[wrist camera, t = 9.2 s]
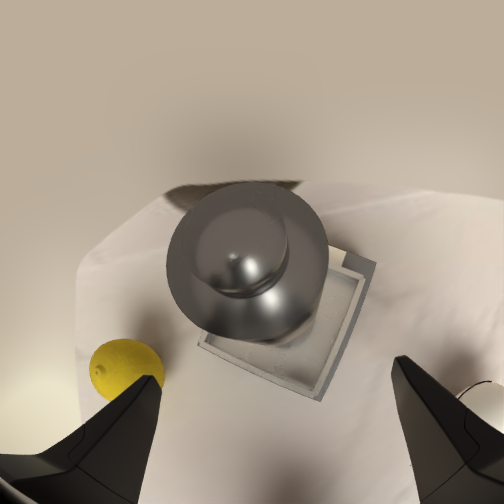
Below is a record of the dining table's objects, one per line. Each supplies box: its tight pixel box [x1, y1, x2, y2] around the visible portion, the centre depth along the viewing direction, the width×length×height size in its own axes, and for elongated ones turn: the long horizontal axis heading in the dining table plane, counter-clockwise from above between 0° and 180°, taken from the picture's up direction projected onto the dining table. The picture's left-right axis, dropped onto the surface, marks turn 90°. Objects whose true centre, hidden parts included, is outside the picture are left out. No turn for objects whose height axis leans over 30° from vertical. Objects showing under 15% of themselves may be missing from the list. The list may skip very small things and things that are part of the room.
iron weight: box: [166, 182, 329, 348], centre depth 13 cm, size 4×4×14 cm
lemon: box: [89, 339, 165, 401], centre depth 19 cm, size 6×6×8 cm
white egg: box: [410, 381, 504, 466], centre depth 13 cm, size 10×7×7 cm
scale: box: [197, 245, 376, 402], centre depth 21 cm, size 10×11×5 cm
